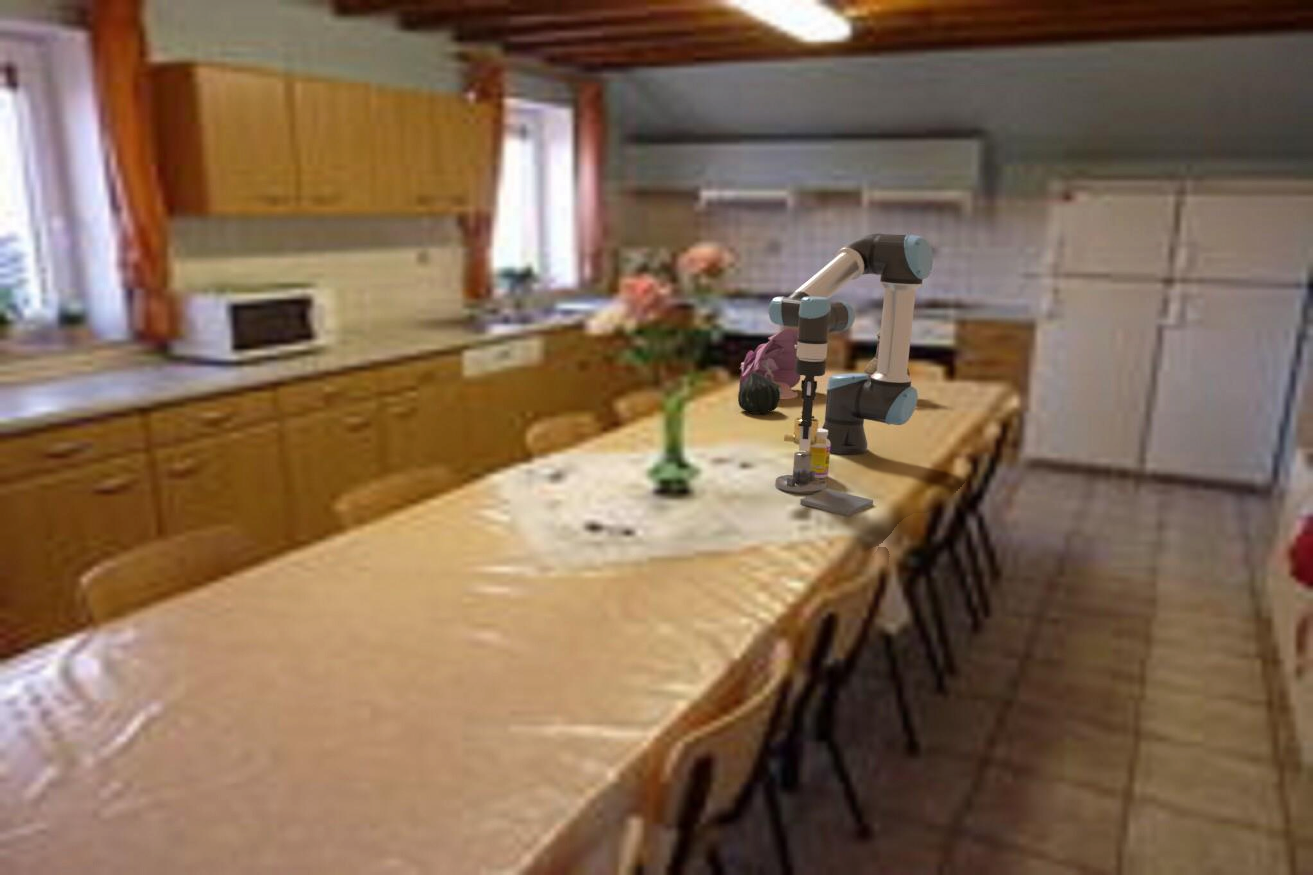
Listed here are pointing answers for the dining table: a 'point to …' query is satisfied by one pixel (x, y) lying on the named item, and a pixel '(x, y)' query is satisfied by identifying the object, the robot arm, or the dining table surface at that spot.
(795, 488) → the post
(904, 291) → the robot arm
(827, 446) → the supplement bottle
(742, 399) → the squash
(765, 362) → the flower arrangement
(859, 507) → the tile
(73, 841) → the dining table surface
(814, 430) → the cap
